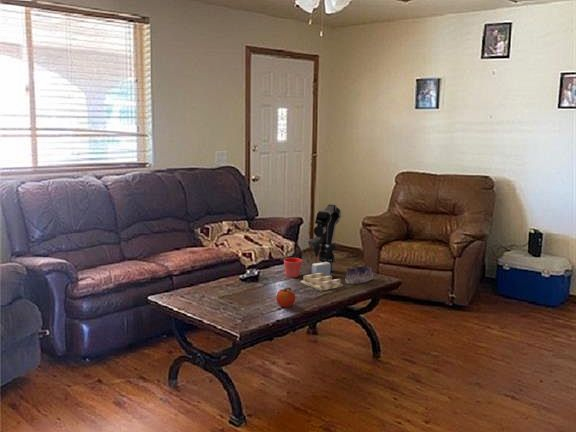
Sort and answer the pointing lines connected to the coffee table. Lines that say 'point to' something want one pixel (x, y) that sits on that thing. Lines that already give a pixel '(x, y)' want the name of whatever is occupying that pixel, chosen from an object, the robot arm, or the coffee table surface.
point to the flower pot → (292, 266)
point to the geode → (358, 275)
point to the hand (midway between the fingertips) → (321, 258)
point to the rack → (321, 281)
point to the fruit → (285, 297)
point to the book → (321, 268)
